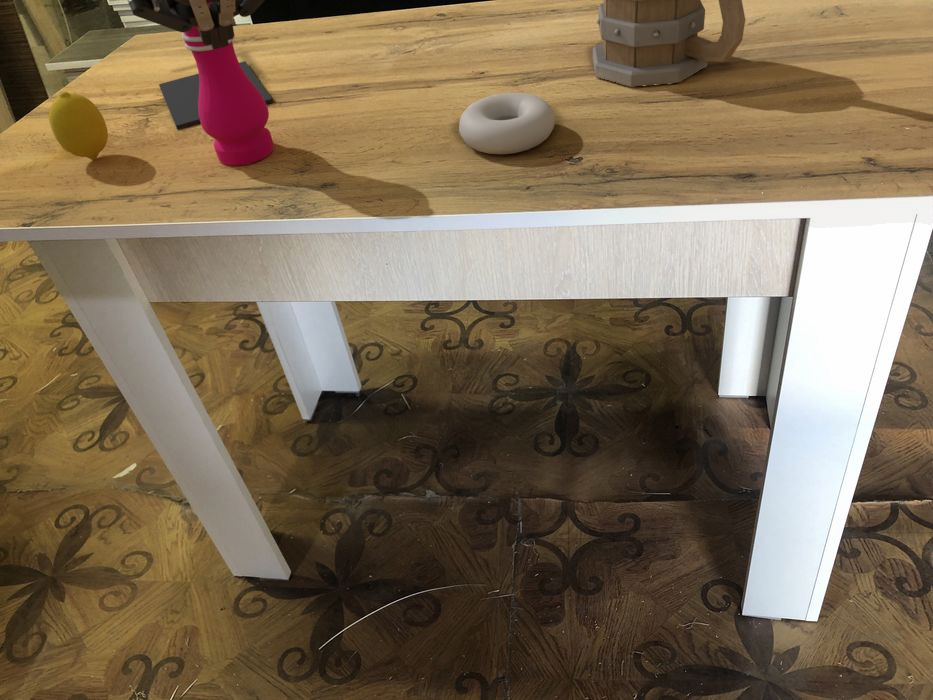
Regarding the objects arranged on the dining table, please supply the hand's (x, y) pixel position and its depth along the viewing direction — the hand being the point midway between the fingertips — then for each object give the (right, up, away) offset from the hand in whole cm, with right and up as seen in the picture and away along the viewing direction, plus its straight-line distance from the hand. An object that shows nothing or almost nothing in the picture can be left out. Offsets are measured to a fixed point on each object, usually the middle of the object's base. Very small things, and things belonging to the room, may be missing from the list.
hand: (216, 38), depth 70 cm
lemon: (-20, -6, +20) cm, 29 cm away
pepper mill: (-2, -6, +16) cm, 18 cm away
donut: (+27, -6, +12) cm, 30 cm away
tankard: (+46, +4, +19) cm, 50 cm away
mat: (-10, +5, +30) cm, 33 cm away
